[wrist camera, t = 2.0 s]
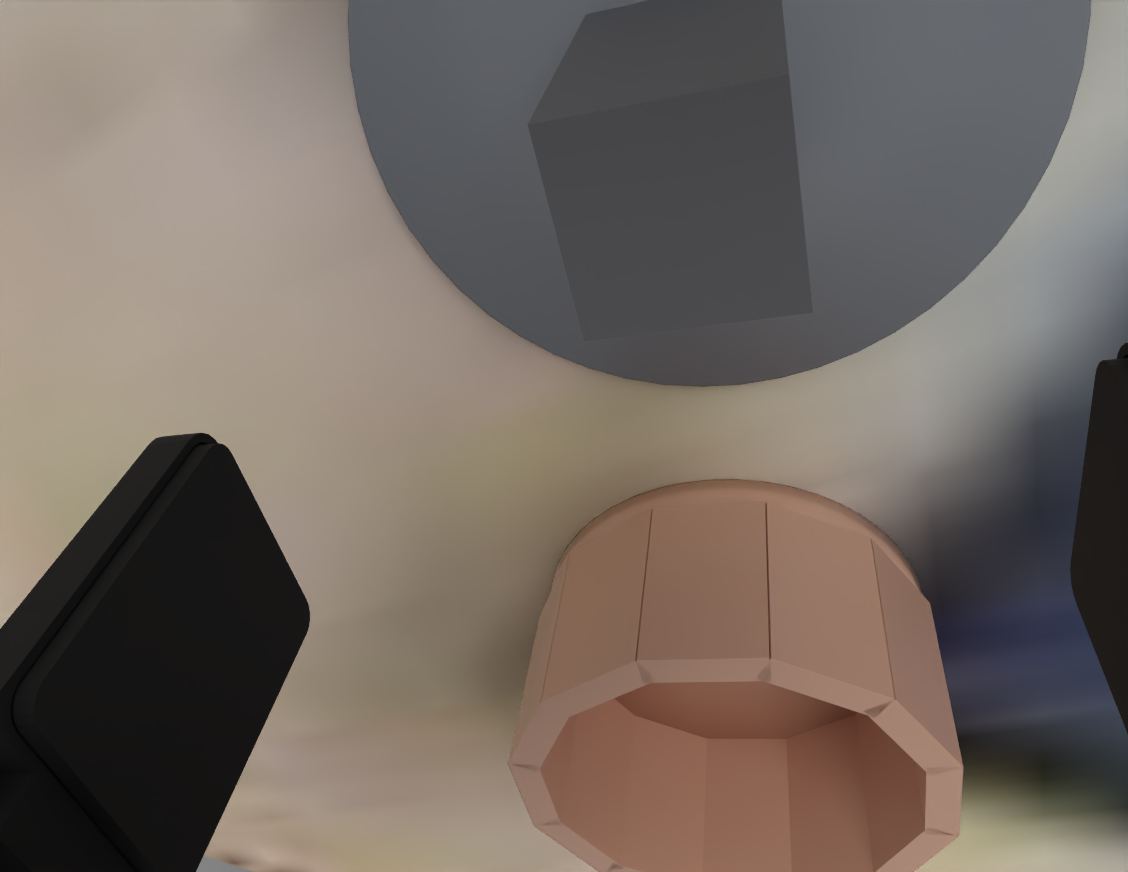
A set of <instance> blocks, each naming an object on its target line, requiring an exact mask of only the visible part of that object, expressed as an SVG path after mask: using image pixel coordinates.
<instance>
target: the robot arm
mask: <svg viewBox="0 0 1128 872" xmlns="http://www.w3.org/2000/svg"><path fill="white" fill-rule="evenodd" d="M1070 571H1071V583H1072V589H1073V594H1074V597H1075V600H1076V603H1077V606H1078V609H1079V611H1080V614H1081V616H1082V619H1083V621H1084V624H1085V626H1086V629H1087V631H1088V634H1089V637H1090V639H1091V642H1092V644H1093V647H1094V649H1095V652H1096V654H1097V657H1098V659H1099V662H1100V664H1101V667H1102V670H1103V672H1104V675H1105V677H1106V680H1107V682H1108V685H1109V687H1110V690H1111V692H1112V695H1113V698H1114V700H1115V703H1116V705H1117V708H1118V710H1119V713H1120V715H1121V718H1122V720H1123V723H1124V726H1125V728H1126V731H1127V733H1128V343H1125V344H1124V345H1123V346H1121V348H1120V350H1119V352H1118V355H1117V359H1113V360H1103V361H1101V362H1100V363H1099V365H1098V367H1097V371H1096V375H1095V383H1094V390H1093V398H1092V406H1091V413H1090V421H1089V428H1088V436H1087V444H1086V451H1085V459H1084V466H1083V474H1082V481H1081V489H1080V497H1079V504H1078V512H1077V519H1076V527H1075V535H1074V542H1073V550H1072V557H1071V568H1070ZM309 622H310V611H309V605H308V603H307V600H306V598H305V596H304V594H303V592H302V590H301V588H300V586H299V584H298V582H297V580H296V578H295V576H294V574H293V572H292V570H291V568H290V567H289V565H288V563H287V561H286V559H285V557H284V555H283V553H282V551H281V549H280V547H279V545H278V543H277V541H276V539H275V537H274V535H273V533H272V531H271V529H270V527H269V525H268V523H267V522H266V520H265V518H264V516H263V514H262V512H261V510H260V508H259V506H258V504H257V502H256V500H255V498H254V496H253V494H252V492H251V490H250V488H249V486H248V484H247V482H246V480H245V478H244V477H243V475H242V473H241V471H240V469H239V467H238V465H237V463H236V461H235V459H234V457H233V455H232V453H231V452H230V450H229V449H228V448H227V447H226V446H225V445H223V444H219V443H217V442H216V440H215V439H214V438H213V437H211V436H210V435H209V434H205V433H194V434H184V435H174V436H164V437H159V438H156V439H155V440H153V441H152V442H151V443H150V444H149V445H148V446H147V448H146V449H145V450H144V451H143V453H142V454H141V455H140V456H139V457H138V459H137V460H136V461H135V462H134V464H133V465H132V466H131V467H130V469H129V470H128V471H127V472H126V474H125V475H124V476H123V477H122V479H121V480H120V481H119V482H118V484H117V485H116V486H115V487H114V489H113V490H112V491H111V492H110V493H109V495H108V496H107V497H106V498H105V500H104V501H103V502H102V503H101V505H100V506H99V507H98V508H97V510H96V511H95V512H94V513H93V515H92V516H91V517H90V518H89V520H88V521H87V522H86V523H85V525H84V526H83V527H82V528H81V529H80V531H79V532H78V533H77V534H76V536H75V537H74V538H73V539H72V541H71V542H70V543H69V544H68V546H67V547H66V548H65V549H64V551H63V552H62V553H61V554H60V556H59V557H58V558H57V559H56V561H55V562H54V563H53V564H52V566H51V567H50V568H49V569H48V570H47V572H46V573H45V574H44V575H43V577H42V578H41V579H40V580H39V582H38V583H37V584H36V585H35V587H34V588H33V589H32V590H31V592H30V593H29V594H28V595H27V597H26V598H25V599H24V600H23V602H22V603H21V604H20V605H19V606H18V608H17V609H16V610H15V611H14V613H13V614H12V615H11V616H10V618H9V619H8V620H7V621H6V623H5V624H4V625H3V626H2V628H1V629H0V872H196V870H197V868H198V866H199V864H200V862H201V859H202V857H203V855H204V853H205V851H206V849H207V847H208V844H209V842H210V840H211V838H212V836H213V834H214V832H215V829H216V827H217V825H218V823H219V821H220V819H221V816H222V814H223V812H224V810H225V808H226V806H227V804H228V801H229V799H230V797H231V795H232V793H233V791H234V789H235V786H236V784H237V782H238V780H239V778H240V776H241V773H242V771H243V769H244V767H245V765H246V763H247V761H248V758H249V756H250V754H251V752H252V750H253V748H254V746H255V743H256V741H257V739H258V737H259V735H260V733H261V730H262V728H263V726H264V724H265V722H266V720H267V718H268V715H269V713H270V711H271V709H272V707H273V705H274V703H275V700H276V698H277V696H278V694H279V692H280V690H281V687H282V685H283V683H284V681H285V679H286V677H287V675H288V672H289V670H290V668H291V666H292V664H293V662H294V660H295V657H296V655H297V653H298V651H299V649H300V647H301V644H302V642H303V640H304V638H305V636H306V634H307V631H308V628H309Z"/></svg>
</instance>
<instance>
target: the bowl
mask: <svg viewBox="0 0 1128 872" xmlns="http://www.w3.org/2000/svg"><path fill="white" fill-rule="evenodd" d="M508 765H509V768H510V770H511V773H512V775H513V777H514V780H515V782H516V784H517V787H518V789H519V792H520V794H521V796H522V799H523V801H524V803H525V806H526V808H527V811H528V813H529V815H530V818H531V820H532V822H533V825H535V827H537V828H538V829H539V830H541V831H542V832H544V833H545V834H546V835H548V836H549V837H551V838H552V839H553V840H555V841H556V842H558V843H559V844H561V845H562V846H563V847H565V848H566V849H568V850H569V851H570V852H572V853H573V854H575V855H576V856H577V857H579V858H580V859H582V860H583V861H585V862H586V863H587V864H589V865H590V866H592V867H593V868H594V869H596V870H597V871H599V872H914V871H915V870H917V869H918V868H919V867H920V866H922V865H923V864H924V863H925V862H927V861H928V860H929V859H930V858H932V857H933V856H934V855H935V854H937V853H938V852H939V851H940V850H942V849H943V848H944V847H945V846H947V845H948V844H949V843H950V842H952V841H953V840H954V839H955V838H957V837H958V835H959V827H960V812H961V796H962V781H963V764H962V759H961V754H960V749H959V744H958V739H957V734H956V729H955V724H954V719H953V714H952V709H951V704H950V699H949V694H948V690H947V685H946V680H945V675H944V670H943V665H942V660H941V655H940V650H939V645H938V640H937V635H936V630H935V625H934V620H933V615H932V611H931V606H930V602H929V601H928V600H927V599H926V598H925V597H924V596H923V594H922V591H921V588H920V584H919V581H918V578H917V576H916V574H915V572H914V570H913V568H912V566H911V564H910V562H909V560H908V559H907V558H906V556H905V555H904V554H903V552H902V551H901V550H900V548H899V547H898V546H897V544H895V543H894V542H893V541H892V540H891V539H890V538H889V537H888V536H887V535H886V534H885V533H884V532H883V531H882V530H881V529H880V528H878V527H877V526H875V525H874V524H873V523H871V522H870V521H869V520H867V519H866V518H864V517H863V516H862V515H860V514H858V513H856V512H854V511H852V510H851V509H849V508H847V507H845V506H843V505H842V504H839V503H837V502H835V501H832V500H830V499H827V498H825V497H822V496H820V495H817V494H814V493H811V492H807V491H804V490H800V489H797V488H794V487H790V486H784V485H779V484H773V483H768V482H760V481H748V480H705V481H696V482H688V483H681V484H676V485H672V486H667V487H663V488H658V489H655V490H652V491H649V492H646V493H643V494H640V495H637V496H634V497H632V498H630V499H628V500H626V501H624V502H622V503H620V504H618V505H615V506H613V507H612V508H610V509H609V510H607V511H606V512H604V513H603V514H601V515H599V516H598V517H596V518H595V519H594V520H593V521H591V522H590V523H589V524H588V525H587V526H586V527H585V528H583V529H582V530H581V531H580V532H579V533H578V534H577V536H576V537H575V538H574V539H573V540H572V542H571V543H570V544H569V545H568V547H567V548H566V550H565V552H564V553H563V555H562V557H561V559H560V560H559V563H558V566H557V568H556V571H555V574H554V577H553V582H552V587H551V592H550V595H549V597H548V599H547V601H546V604H545V606H544V608H543V610H542V612H541V614H540V617H539V622H538V626H537V631H536V636H535V640H534V645H533V650H532V654H531V659H530V664H529V668H528V673H527V678H526V682H525V687H524V691H523V696H522V701H521V705H520V710H519V715H518V719H517V724H516V729H515V733H514V738H513V743H512V747H511V752H510V756H509V761H508Z"/></svg>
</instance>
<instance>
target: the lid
mask: <svg viewBox="0 0 1128 872" xmlns="http://www.w3.org/2000/svg"><path fill="white" fill-rule="evenodd" d="M1090 15H1091V0H349V12H348V27H349V47H350V66H351V72H352V77H353V83H354V89H355V95H356V100H357V106H358V111H359V115H360V118H361V121H362V125H363V128H364V131H365V135H366V138H367V141H368V145H369V148H370V152H371V154H372V157H373V159H374V161H375V164H376V166H377V168H378V171H379V173H380V175H381V177H382V180H383V182H384V184H385V187H386V189H387V191H388V193H389V195H390V197H391V199H392V200H393V202H394V204H395V205H396V207H397V209H398V211H399V212H400V214H401V216H402V218H403V219H404V221H405V223H406V225H407V226H408V228H409V229H410V231H411V232H412V233H413V235H414V236H415V238H416V239H417V240H418V242H419V243H420V244H421V246H422V247H423V248H424V250H425V251H426V252H427V254H428V255H429V256H430V258H431V259H432V261H433V262H434V263H435V264H436V265H437V266H438V267H439V268H440V269H441V270H442V271H443V272H444V273H445V275H446V276H447V277H448V278H449V279H450V280H451V281H452V282H453V283H454V284H455V285H456V286H457V287H458V288H459V290H461V291H462V292H463V293H464V294H465V295H466V296H468V297H469V298H470V299H471V300H472V301H473V302H475V303H476V304H477V305H478V306H479V307H480V308H482V309H483V310H484V311H485V312H486V313H487V314H489V315H490V316H491V317H493V318H494V319H496V320H497V321H499V322H500V323H502V324H503V325H505V326H506V327H508V328H509V329H510V330H512V331H513V332H515V333H516V334H518V335H519V336H521V337H523V338H524V339H526V340H528V341H530V342H532V343H534V344H536V345H538V346H540V347H541V348H543V349H545V350H547V351H549V352H551V353H553V354H555V355H557V356H560V357H562V358H565V359H567V360H570V361H572V362H575V363H577V364H580V365H582V366H585V367H588V368H590V369H594V370H597V371H601V372H605V373H608V374H612V375H616V376H619V377H623V378H627V379H633V380H639V381H645V382H651V383H658V384H664V385H683V386H721V385H739V384H746V383H753V382H759V381H765V380H771V379H777V378H782V377H785V376H789V375H793V374H796V373H800V372H804V371H807V370H811V369H814V368H818V367H821V366H823V365H826V364H828V363H831V362H833V361H836V360H839V359H841V358H844V357H846V356H849V355H851V354H854V353H856V352H858V351H860V350H862V349H864V348H866V347H868V346H870V345H872V344H874V343H875V342H877V341H879V340H881V339H883V338H885V337H887V336H889V335H891V334H893V333H894V332H896V331H897V330H899V329H900V328H902V327H903V326H905V325H906V324H908V323H909V322H911V321H912V320H914V319H915V318H917V317H918V316H920V315H921V314H923V313H924V312H926V311H927V310H928V309H930V308H931V307H932V306H934V305H935V304H936V303H937V302H938V301H939V300H941V299H942V298H943V297H944V296H945V295H947V294H948V293H949V292H950V291H951V290H952V289H954V288H955V287H956V286H957V285H958V284H959V283H961V282H962V281H963V280H964V279H965V278H966V277H967V276H968V275H969V274H970V273H971V272H972V271H973V270H974V269H975V268H976V266H977V265H978V264H979V263H980V262H981V261H982V260H983V259H984V258H985V257H986V256H987V255H988V254H989V253H990V252H991V251H992V249H993V248H994V247H995V246H996V245H997V244H998V242H999V241H1000V240H1001V238H1002V237H1003V236H1004V234H1005V233H1006V232H1007V230H1008V229H1009V228H1010V226H1011V225H1012V224H1013V222H1014V221H1015V220H1016V218H1017V217H1018V215H1019V214H1020V213H1021V211H1022V210H1023V209H1024V207H1025V206H1026V204H1027V202H1028V200H1029V199H1030V197H1031V195H1032V194H1033V192H1034V190H1035V188H1036V187H1037V185H1038V183H1039V181H1040V180H1041V178H1042V176H1043V174H1044V173H1045V171H1046V169H1047V167H1048V166H1049V164H1050V161H1051V159H1052V157H1053V154H1054V152H1055V149H1056V147H1057V145H1058V142H1059V140H1060V138H1061V135H1062V133H1063V131H1064V128H1065V126H1066V123H1067V121H1068V119H1069V115H1070V112H1071V108H1072V105H1073V101H1074V98H1075V94H1076V91H1077V87H1078V83H1079V80H1080V76H1081V73H1082V69H1083V64H1084V57H1085V50H1086V43H1087V36H1088V29H1089V22H1090Z"/></svg>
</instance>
